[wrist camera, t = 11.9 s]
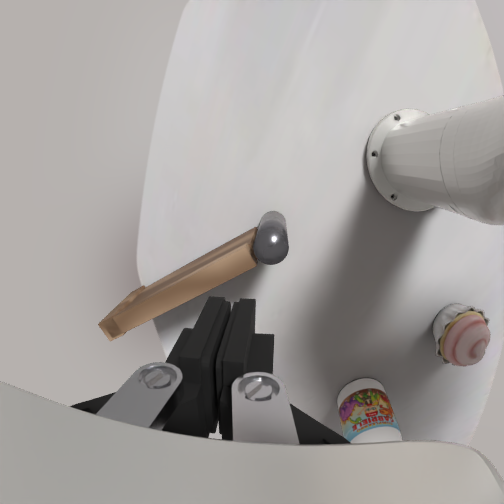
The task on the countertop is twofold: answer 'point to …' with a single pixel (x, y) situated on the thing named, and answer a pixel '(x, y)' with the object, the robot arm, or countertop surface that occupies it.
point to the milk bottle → (367, 413)
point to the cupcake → (461, 334)
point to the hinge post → (271, 239)
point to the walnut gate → (182, 285)
